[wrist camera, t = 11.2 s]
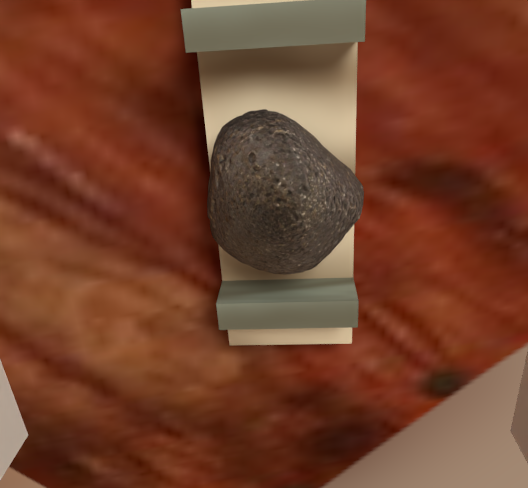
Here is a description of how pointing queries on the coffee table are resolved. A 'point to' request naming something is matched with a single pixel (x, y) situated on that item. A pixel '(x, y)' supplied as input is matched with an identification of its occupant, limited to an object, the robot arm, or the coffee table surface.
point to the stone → (278, 194)
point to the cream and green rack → (303, 112)
